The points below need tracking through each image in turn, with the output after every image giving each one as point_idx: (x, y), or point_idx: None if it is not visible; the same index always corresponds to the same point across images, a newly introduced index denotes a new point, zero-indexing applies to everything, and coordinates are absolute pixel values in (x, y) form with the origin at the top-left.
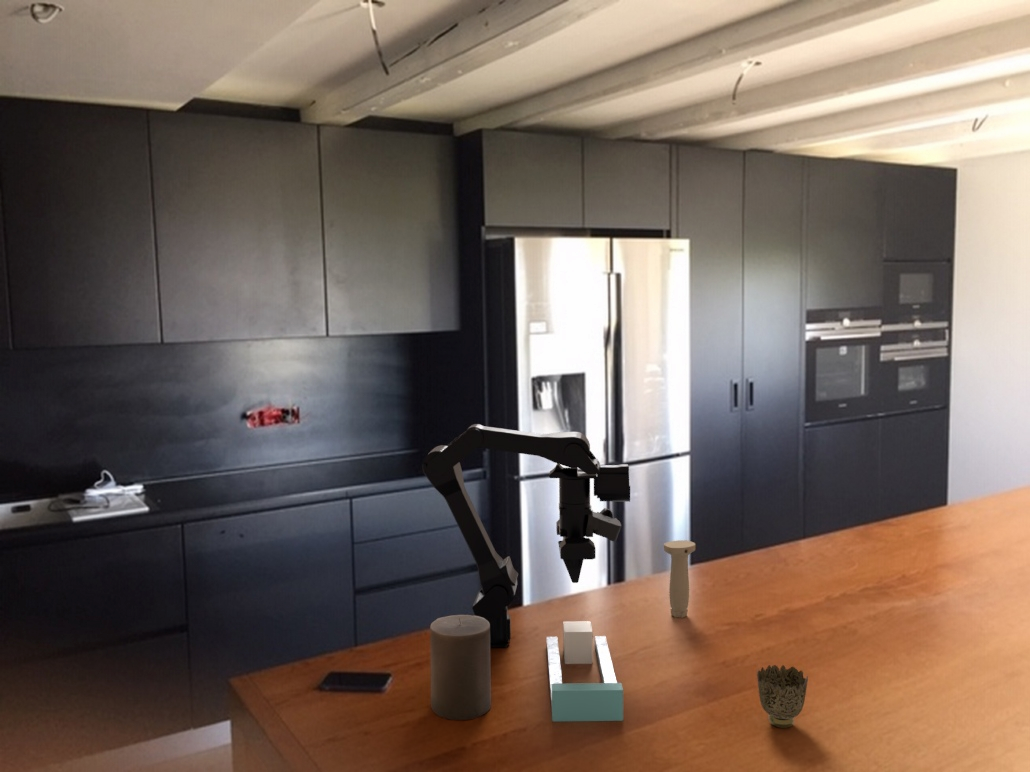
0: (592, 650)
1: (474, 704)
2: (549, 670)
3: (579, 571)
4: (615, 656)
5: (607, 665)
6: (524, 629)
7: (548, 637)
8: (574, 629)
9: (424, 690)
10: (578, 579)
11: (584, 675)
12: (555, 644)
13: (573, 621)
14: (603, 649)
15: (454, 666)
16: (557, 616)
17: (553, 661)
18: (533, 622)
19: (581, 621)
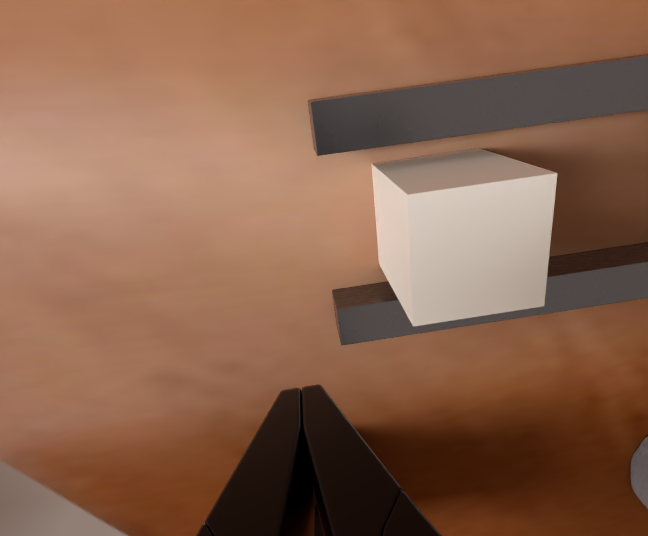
0: (504, 157)
1: None
2: (633, 299)
3: (372, 460)
4: (411, 49)
5: (634, 82)
6: (190, 410)
7: (348, 338)
8: (517, 265)
9: (599, 532)
10: (329, 399)
11: (575, 173)
12: None
13: (412, 280)
14: (467, 106)
15: None
16: (18, 324)
17: (564, 295)
18: (114, 394)
19: (413, 241)
